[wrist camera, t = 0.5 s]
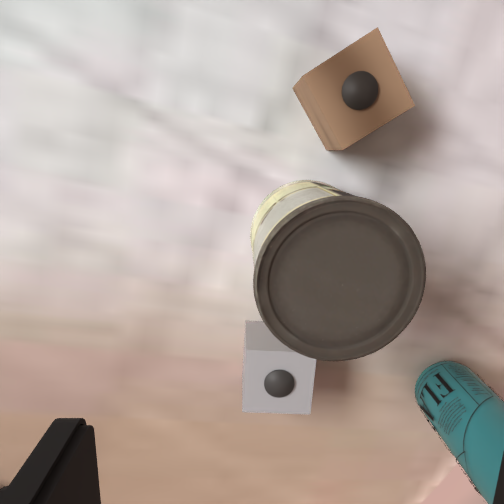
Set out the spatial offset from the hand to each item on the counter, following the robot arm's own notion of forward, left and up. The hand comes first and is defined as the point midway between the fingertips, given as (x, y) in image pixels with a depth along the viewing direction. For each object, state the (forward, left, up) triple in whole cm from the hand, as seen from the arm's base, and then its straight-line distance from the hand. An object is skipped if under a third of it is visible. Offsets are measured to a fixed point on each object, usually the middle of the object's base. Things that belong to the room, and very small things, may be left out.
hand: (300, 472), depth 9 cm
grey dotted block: (+1, +13, -29) cm, 32 cm away
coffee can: (-4, +2, -29) cm, 30 cm away
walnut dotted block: (-9, -9, -29) cm, 32 cm away
